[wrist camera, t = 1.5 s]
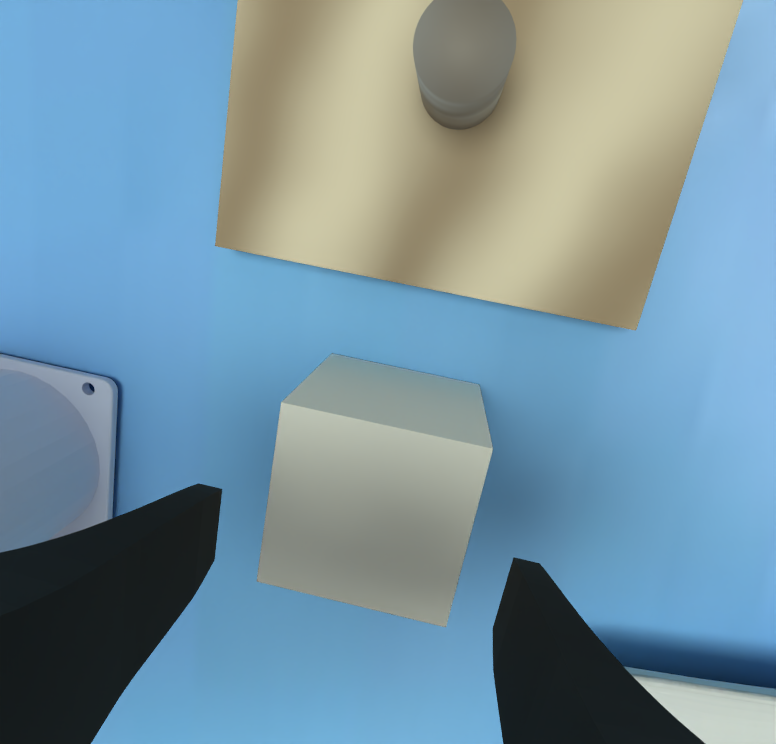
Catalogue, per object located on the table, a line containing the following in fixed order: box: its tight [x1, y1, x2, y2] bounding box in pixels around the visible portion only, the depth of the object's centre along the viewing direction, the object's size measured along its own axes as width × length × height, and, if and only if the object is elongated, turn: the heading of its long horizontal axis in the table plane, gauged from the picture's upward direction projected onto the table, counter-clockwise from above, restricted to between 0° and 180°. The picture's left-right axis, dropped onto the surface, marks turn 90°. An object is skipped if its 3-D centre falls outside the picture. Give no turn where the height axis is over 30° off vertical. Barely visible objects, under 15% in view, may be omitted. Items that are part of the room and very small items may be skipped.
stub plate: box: [215, 0, 743, 330], centre depth 14 cm, size 14×12×5 cm
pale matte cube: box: [257, 353, 493, 627], centre depth 17 cm, size 6×6×6 cm
